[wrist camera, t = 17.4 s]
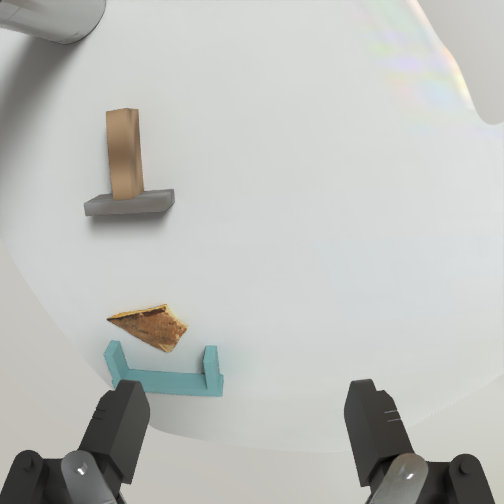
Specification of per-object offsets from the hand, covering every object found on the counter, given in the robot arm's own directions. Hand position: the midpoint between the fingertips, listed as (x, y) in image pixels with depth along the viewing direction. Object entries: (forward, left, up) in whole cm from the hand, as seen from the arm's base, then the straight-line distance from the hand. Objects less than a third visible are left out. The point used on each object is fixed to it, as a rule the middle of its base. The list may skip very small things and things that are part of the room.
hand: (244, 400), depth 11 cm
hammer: (-7, -14, -28) cm, 32 cm away
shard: (+18, -15, -29) cm, 37 cm away
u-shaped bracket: (+24, -14, -28) cm, 40 cm away
